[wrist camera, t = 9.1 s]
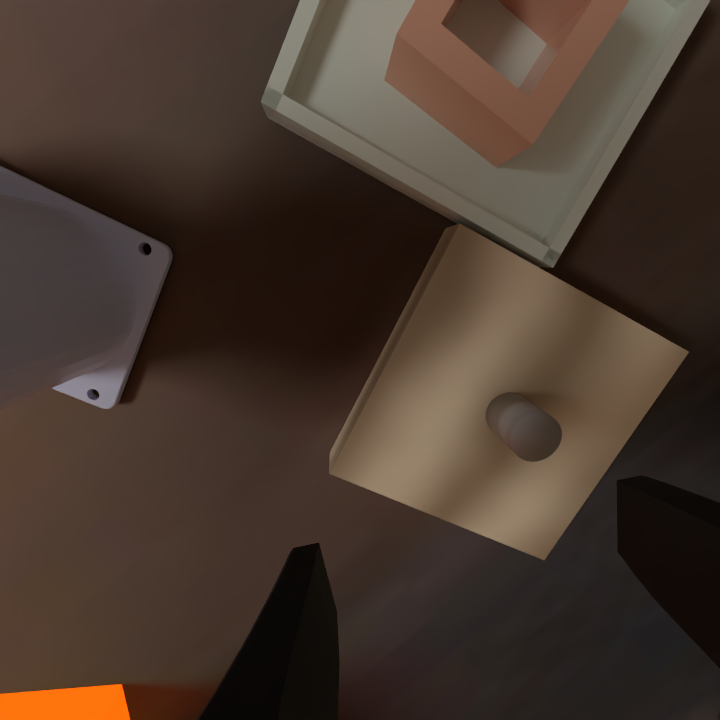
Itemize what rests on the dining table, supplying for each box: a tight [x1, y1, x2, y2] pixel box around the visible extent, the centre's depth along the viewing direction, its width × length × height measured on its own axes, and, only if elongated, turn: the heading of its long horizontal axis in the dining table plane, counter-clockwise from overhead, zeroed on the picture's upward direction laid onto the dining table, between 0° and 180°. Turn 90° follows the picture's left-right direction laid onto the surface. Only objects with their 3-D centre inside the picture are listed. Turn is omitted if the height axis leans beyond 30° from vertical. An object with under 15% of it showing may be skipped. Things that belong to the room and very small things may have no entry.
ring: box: [384, 0, 629, 167], centre depth 13 cm, size 6×6×3 cm
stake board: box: [329, 224, 689, 560], centre depth 16 cm, size 12×12×4 cm
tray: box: [261, 0, 710, 268], centre depth 14 cm, size 13×11×2 cm
